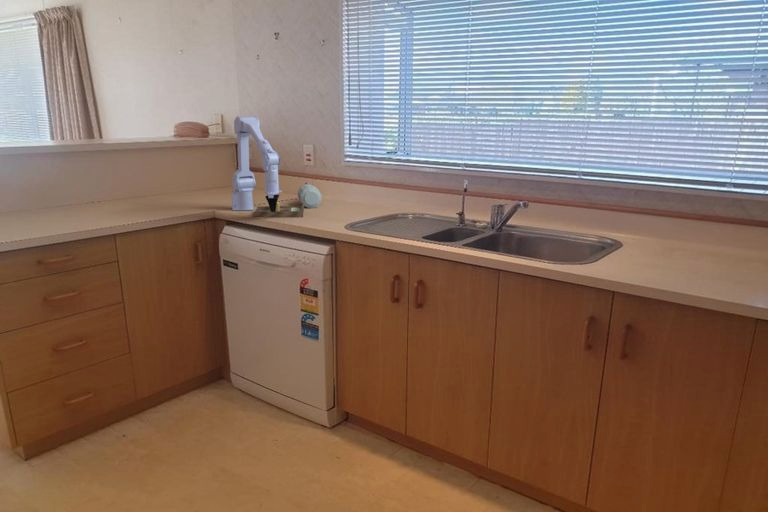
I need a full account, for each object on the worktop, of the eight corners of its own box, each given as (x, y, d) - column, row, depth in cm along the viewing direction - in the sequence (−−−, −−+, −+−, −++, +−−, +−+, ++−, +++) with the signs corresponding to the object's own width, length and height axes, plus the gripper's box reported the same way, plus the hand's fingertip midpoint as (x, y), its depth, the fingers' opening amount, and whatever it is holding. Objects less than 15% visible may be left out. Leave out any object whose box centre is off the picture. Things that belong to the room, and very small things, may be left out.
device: (322, 208, 263) (321, 187, 261) (301, 209, 261) (300, 187, 258) (312, 198, 292) (312, 179, 290) (293, 199, 290) (293, 180, 287)
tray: (253, 217, 240) (253, 208, 239) (257, 211, 253) (256, 203, 252) (302, 217, 242) (302, 208, 241) (303, 211, 255) (303, 203, 254)
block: (269, 212, 242) (269, 203, 241) (270, 210, 246) (270, 201, 245) (278, 212, 242) (278, 203, 241) (279, 210, 246) (279, 201, 245)
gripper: (279, 183, 228) (281, 214, 231) (282, 178, 241) (283, 208, 245) (262, 183, 227) (264, 215, 231) (266, 178, 241) (267, 208, 244)
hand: (273, 211), depth 238 cm, fingers closed
